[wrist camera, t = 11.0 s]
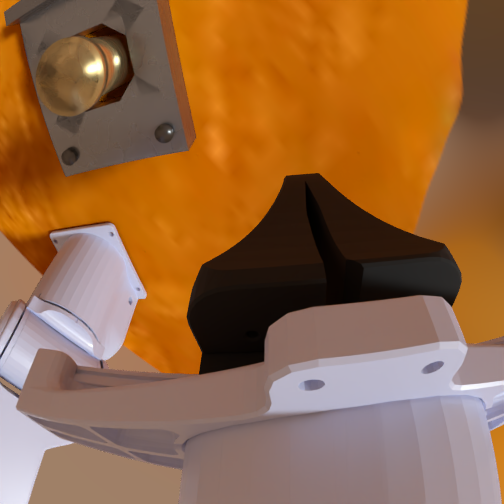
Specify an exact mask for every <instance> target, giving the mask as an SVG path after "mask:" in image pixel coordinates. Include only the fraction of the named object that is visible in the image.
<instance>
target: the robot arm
mask: <svg viewBox="0 0 504 504" xmlns="http://www.w3.org/2000/svg"><path fill="white" fill-rule="evenodd" d="M111 232H112V233H113V234H112V233H111ZM50 238H51V240H52V242H53V244H54V246H55V247H56V249H57V251H58V253H57V255H56V256H55V258H54V259H53V261H52V262H51V264H50V265H49V267H48V269H47V270H46V272H45V273H44V275H43V277H42V278H41V280H40V282H39V283H38V285H37V287H36V288H35V290H34V292H33V293H32V295H31V297H30V299H29V300H28V302H27V303H26V304H25V302H24V301H22V300H21V299H20V300H18V301H12V302H11V303H10V304H9V306H8V307H7V309H6V310H5V312H4V314H3V315H2V317H1V319H0V377H1V378H3V379H4V380H6V381H7V382H9V383H10V384H12V385H13V386H15V387H16V388H18V389H19V390H21V394H20V395H18V394H16V393H15V392H14V391H12V390H10V389H9V388H7V387H6V386H5V385H3V384H2V383H1V382H0V504H28V502H29V499H30V495H31V492H32V488H33V485H34V482H35V479H36V476H37V473H38V470H39V467H40V464H41V461H42V458H43V455H44V452H45V450H47V449H49V448H54V447H58V446H63V445H67V444H71V443H77V444H81V445H83V446H87V447H90V448H93V449H97V450H100V451H103V452H107V453H111V454H114V455H118V456H121V457H126V458H129V459H133V460H137V461H141V462H146V463H150V464H154V465H159V466H164V467H169V468H175V469H180V470H182V478H181V486H180V495H179V504H502V503H501V493H500V485H499V478H498V472H497V466H496V460H495V455H494V449H493V445H492V440H491V435H490V431H491V430H493V429H495V428H497V427H499V426H501V425H503V424H504V336H503V337H500V338H496V339H492V340H489V341H485V342H481V343H477V344H466V342H465V339H464V337H463V334H462V332H461V329H460V327H459V324H458V322H457V320H456V317H455V315H454V313H453V310H452V308H451V307H452V305H453V303H454V301H455V299H456V296H457V294H458V292H459V289H460V285H461V282H462V281H461V272H460V270H459V268H458V266H457V264H456V262H455V260H454V258H453V256H452V255H451V253H450V251H449V250H448V248H447V247H446V246H445V244H443V243H440V242H436V241H433V240H429V239H426V238H422V237H419V236H416V235H414V234H411V233H408V232H406V231H403V230H401V229H398V228H396V227H394V226H392V225H390V224H388V223H386V222H384V221H382V220H380V219H378V218H376V217H374V216H373V215H371V214H369V213H368V212H366V211H364V210H363V209H361V208H360V207H358V206H357V205H355V204H354V203H353V202H351V201H350V200H349V199H347V198H346V197H345V196H344V195H342V194H341V193H340V192H339V191H338V190H336V189H335V188H334V187H333V186H332V185H331V184H330V183H329V182H328V181H327V180H326V179H325V178H323V177H322V176H321V175H320V174H319V173H315V174H302V175H290V176H286V177H285V178H284V182H283V185H282V187H281V190H280V192H279V194H278V196H277V198H276V200H275V202H274V203H273V205H272V206H271V208H270V209H269V211H268V212H267V214H266V215H265V217H264V218H263V219H262V220H261V222H260V223H259V224H258V225H257V226H256V227H255V228H254V229H253V230H252V231H251V232H250V233H249V234H248V235H247V236H246V237H245V238H244V239H242V240H241V241H240V242H239V243H237V244H236V245H235V246H233V247H232V248H230V249H229V250H227V251H226V252H224V253H223V254H221V255H219V256H217V257H215V258H214V259H212V260H210V261H208V262H206V263H204V264H203V265H202V266H201V269H200V271H199V273H198V276H197V278H196V281H195V283H194V286H193V289H192V293H191V297H190V302H189V307H188V312H187V320H188V324H189V327H190V329H191V331H192V333H193V335H194V337H195V339H196V341H197V343H198V345H199V347H200V349H201V351H202V357H201V364H200V371H199V374H171V373H150V372H136V371H124V370H113V369H109V367H108V364H107V363H106V362H105V360H107V359H109V358H111V357H112V356H113V355H114V354H115V353H116V352H117V351H118V350H119V349H120V347H121V346H122V344H123V342H124V339H125V336H126V333H127V330H128V327H129V324H130V321H131V318H132V315H133V312H134V309H135V307H136V304H137V301H138V299H145V298H146V296H147V293H146V291H145V289H144V287H143V285H142V283H141V281H140V279H139V277H138V275H137V273H136V271H135V269H134V267H133V265H132V263H131V261H130V259H129V256H128V254H127V252H126V250H125V248H124V246H123V243H122V241H121V239H120V237H119V235H118V232H117V230H116V228H115V226H114V225H113V224H112V223H104V224H97V225H90V226H84V227H77V228H71V229H65V230H59V231H53V232H51V234H50Z"/></svg>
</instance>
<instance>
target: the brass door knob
mask: <svg viewBox="0 0 504 504" xmlns="http://www.w3.org/2000/svg"><path fill="white" fill-rule="evenodd" d="M134 75H135V74H134V69H133V65H132V61H131V56H130V52H129V47H128V43H127V38H126V36H124V35H118V34H115V35H107V36H100V37H94V38H87V37H83V36H73V37H67V38H63V39H60V40H58V41H56V42H55V43H53V44H52V45H51V46H50V47H48V49H47V50H46V51H45V52H44V54H43V55H42V57H41V59H40V61H39V63H38V66H37V70H36V88H37V92H38V95H39V97H40V99H41V101H42V102H43V104H44V105H45V106H46V107H47V108H48V109H49V110H50V111H51V112H53V113H55V114H57V115H60V116H66V117H68V116H76V115H78V114H81V113H83V112H84V111H86V110H88V109H89V108H91V107H92V106H93V105H94V104H96V103H97V101H98V100H99V99H100V98H101V96H103V95H104V94H106V93H108V92H110V91H112V90H114V89H116V88H118V87H120V86H122V85H124V84H125V83H127V82H128V81H130V80H131V78H132V77H133V76H134Z"/></svg>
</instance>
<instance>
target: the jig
mask: <svg viewBox="0 0 504 504" xmlns="http://www.w3.org/2000/svg"><path fill="white" fill-rule="evenodd" d="M4 14H5V20H6V26H10V25H16V24H20V26H21V31H22V36H23V41H24V46H25V50H26V55H27V59H28V63H29V67H30V71H31V75H32V79H33V82H34V86H35V90H36V93H37V97H38V100H39V103H40V106H41V110H42V113H43V116H44V119H45V122H46V125H47V128H48V131H49V134H50V137H51V140H52V142H53V145H54V148H55V151H56V153H57V156H58V158H59V161H60V164H61V166H62V169H63V171H64V174H65V176H66V177H67V176H71V175H74V174H78V173H82V172H86V171H90V170H94V169H98V168H102V167H107V166H111V165H115V164H120V163H125V162H129V161H134V160H139V159H144V158H149V157H154V156H160V155H165V154H171V153H177V152H183V151H189V149H190V147H191V145H192V144H193V142H194V140H195V138H196V134H195V130H194V125H193V121H192V116H191V111H190V107H189V102H188V97H187V92H186V88H185V83H184V78H183V73H182V68H181V63H180V58H179V53H178V48H177V43H176V38H175V33H174V27H173V22H172V17H171V11H170V6H169V0H21V1H19V2H18V3H16V4H15V5H13V6H12V7H11V8H9V9H8V10H6V11H5V12H4ZM107 26H108V27H110V28H112V29H114V30H116V31H118V32H120V33H122V34H124V35H126V38H127V43H128V47H129V52H130V56H131V61H132V65H133V69H134V74H135V75H134V77H133V79H132V80H131V82H130V84H129V86H128V87H127V89H126V91H125V93H124V95H123V96H120V97H117V98H114V99H111V100H107V101H104V102H101V101H99V100H98V101H97V103H96V104H94V105H93V106H92V107H91V108H89V109H88V110H86V111H84V112H83V113H81V114H78V115H76V116H68V117H66V116H60V115H57V114H55V113H53V112H51V111H50V110H49V109H48V108H47V107H46V106H45V105H44V104H43V102H42V101H41V99H40V97H39V95H38V92H37V88H36V70H37V66H38V63H39V61H40V59H41V57H42V55H43V54H44V52H45V51H46V50H47V49H48V47H50V46H51V45H52V44H53V43H55V42H56V41H58V40H60V39H63V38H67V37H73V36H83V37H85V36H86V35H87V34H90V33H92V32H95V31H97V30H99V29H102V28H104V27H107Z"/></svg>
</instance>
